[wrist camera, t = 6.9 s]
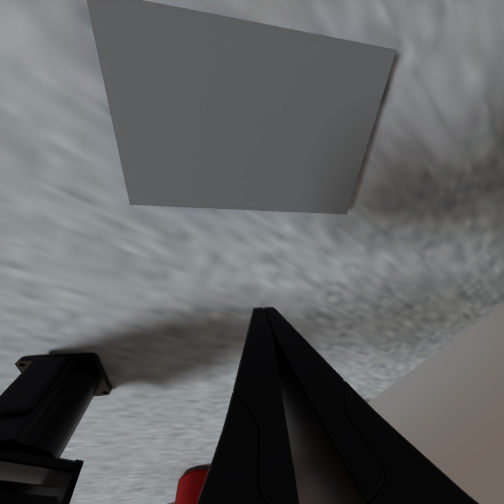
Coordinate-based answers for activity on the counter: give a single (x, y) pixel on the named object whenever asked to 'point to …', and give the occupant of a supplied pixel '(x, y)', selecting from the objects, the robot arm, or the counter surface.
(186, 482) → the beverage can
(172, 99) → the mat
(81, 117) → the counter surface
